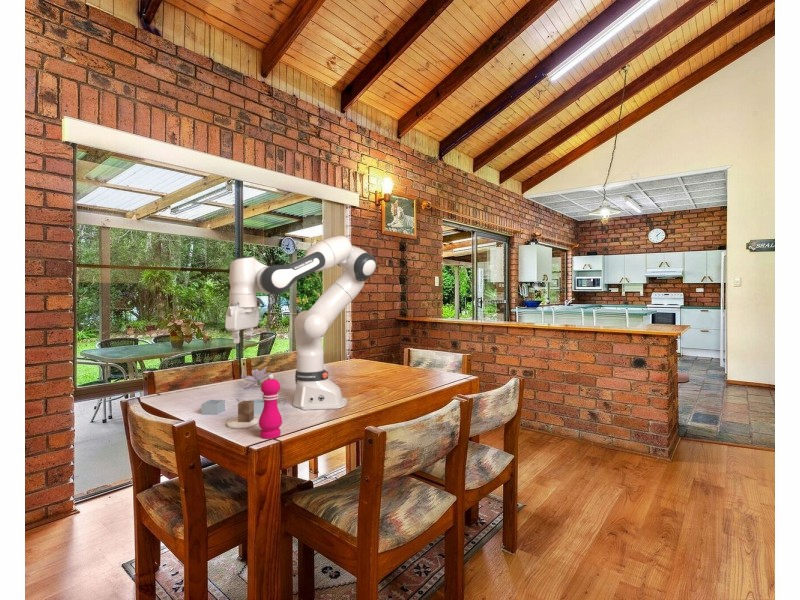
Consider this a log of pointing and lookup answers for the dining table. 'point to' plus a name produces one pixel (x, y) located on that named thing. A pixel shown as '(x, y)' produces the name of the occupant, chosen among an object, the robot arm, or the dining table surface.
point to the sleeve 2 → (258, 405)
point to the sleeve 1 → (213, 407)
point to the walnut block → (245, 411)
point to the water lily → (256, 377)
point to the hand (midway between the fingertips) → (242, 341)
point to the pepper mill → (270, 409)
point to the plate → (241, 423)
